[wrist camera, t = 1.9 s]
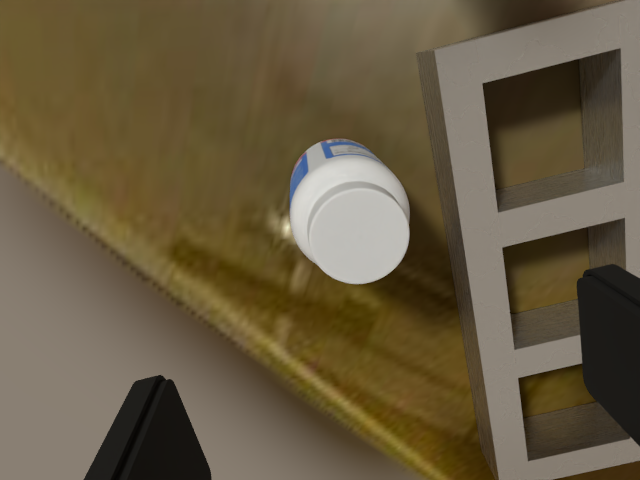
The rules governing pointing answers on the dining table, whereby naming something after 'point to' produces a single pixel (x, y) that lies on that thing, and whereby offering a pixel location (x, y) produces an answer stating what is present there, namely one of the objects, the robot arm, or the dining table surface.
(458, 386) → the dining table surface
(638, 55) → the hollow concrete block
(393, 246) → the pill bottle
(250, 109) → the dining table surface
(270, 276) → the dining table surface
